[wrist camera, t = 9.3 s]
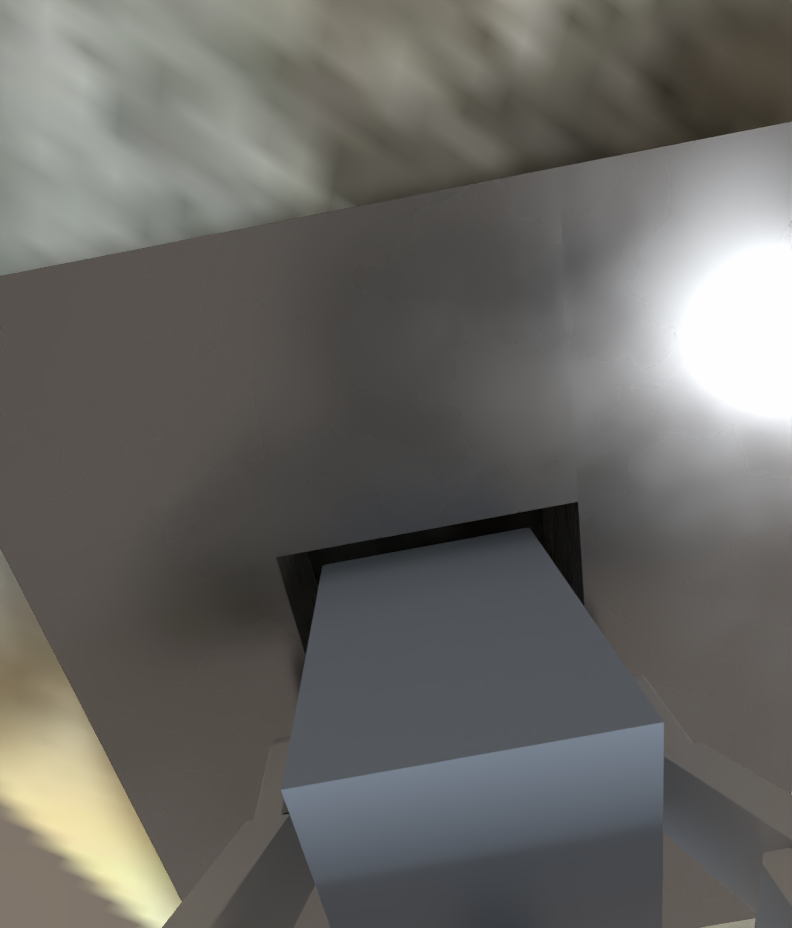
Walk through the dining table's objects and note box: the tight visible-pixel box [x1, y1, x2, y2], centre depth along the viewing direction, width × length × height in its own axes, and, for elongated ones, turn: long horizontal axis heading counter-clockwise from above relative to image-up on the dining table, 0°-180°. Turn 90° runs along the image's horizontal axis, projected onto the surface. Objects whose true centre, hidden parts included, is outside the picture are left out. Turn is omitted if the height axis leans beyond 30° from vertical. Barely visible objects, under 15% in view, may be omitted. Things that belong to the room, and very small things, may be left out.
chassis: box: [0, 122, 792, 928], centre depth 12 cm, size 16×20×2 cm
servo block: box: [281, 527, 664, 928], centre depth 9 cm, size 4×8×6 cm, turn 10°
